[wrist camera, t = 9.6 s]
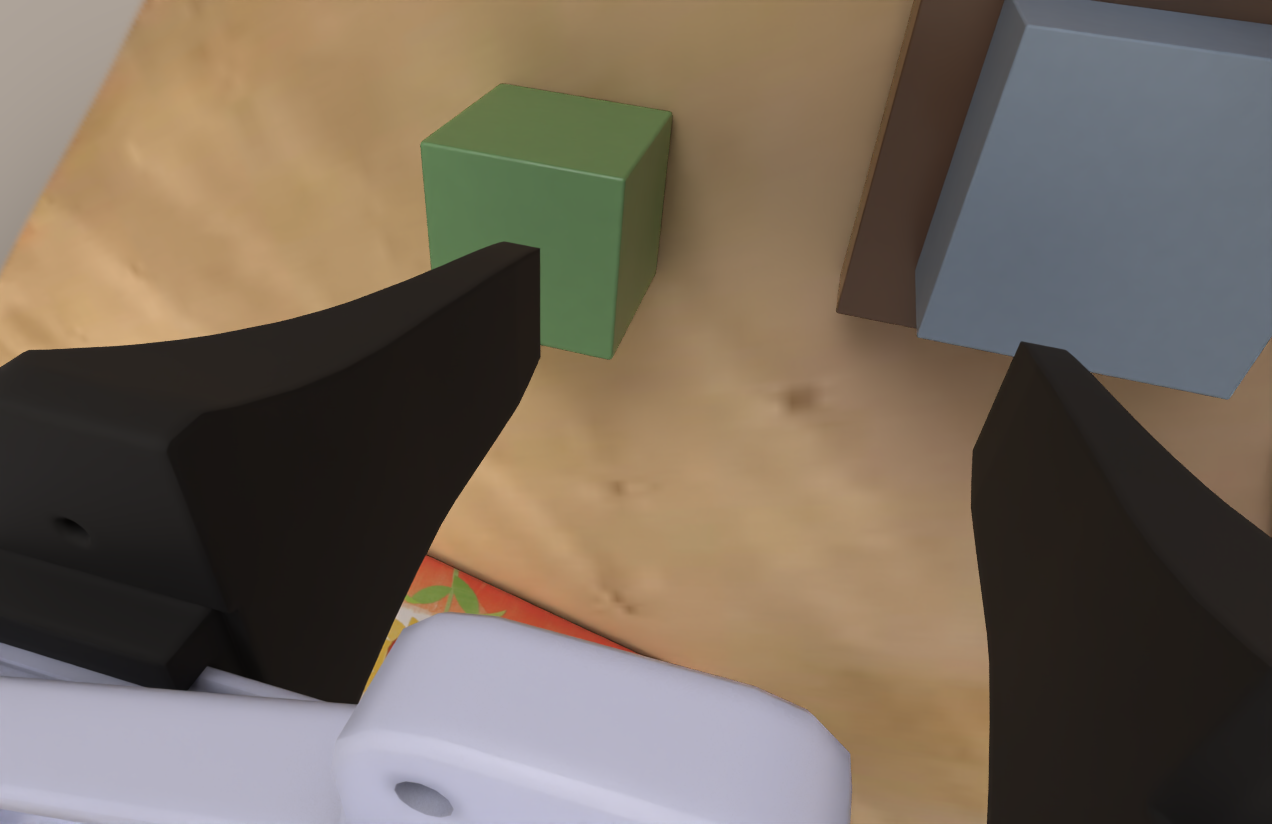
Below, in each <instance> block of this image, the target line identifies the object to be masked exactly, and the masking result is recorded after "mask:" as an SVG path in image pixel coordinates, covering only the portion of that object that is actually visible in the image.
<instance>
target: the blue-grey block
mask: <svg viewBox="0 0 1272 824" xmlns="http://www.w3.org/2000/svg"><path fill="white" fill-rule="evenodd" d="M915 288H916V326H917V337H918V338H923V339H928V340H933V341H938V342H943V343H948V344H953V345H958V346H963V347H968V348H973V349H978V350H983V351H988V352H993V353H998V354H1003V355H1008V356H1013V357H1014V355H1015V353H1016V351H1017V349H1018V346H1019V344H1020V342H1021V341H1023V342H1028V343H1033V344H1039V345H1044V346H1049V347H1054V348H1059V349H1065V350H1067V351H1068V352H1069V353H1070V354H1072V355H1073V356H1074V357H1075V358H1076V359H1077V360H1078V361H1079V362H1080V363H1081V364H1082V365H1083V366H1084V367H1085V368H1086V369H1087V370H1088V371H1089V372H1092V373H1097V374H1102V375H1107V376H1112V377H1117V378H1122V379H1127V380H1132V381H1137V382H1142V383H1147V384H1152V385H1157V386H1162V387H1167V388H1172V389H1177V390H1182V391H1187V392H1192V393H1197V394H1202V395H1207V396H1212V397H1217V398H1222V399H1230V397H1231V396H1232V394H1233V393H1234V391H1235V390H1236V388H1237V387H1238V385H1239V384H1240V382H1241V381H1242V380H1243V378H1244V377H1245V375H1246V374H1247V372H1248V371H1249V369H1250V368H1251V366H1252V365H1253V363H1254V362H1255V360H1256V359H1257V357H1258V356H1259V355H1260V353H1261V352H1262V350H1263V349H1264V347H1265V346H1266V344H1267V343H1268V341H1269V340H1270V338H1271V337H1272V25H1268V24H1261V23H1254V22H1246V21H1239V20H1231V19H1224V18H1217V17H1209V16H1202V15H1195V14H1187V13H1180V12H1172V11H1165V10H1158V9H1150V8H1143V7H1135V6H1128V5H1121V4H1113V3H1106V2H1098V1H1091V0H1004V3H1003V6H1002V9H1001V13H1000V16H999V19H998V22H997V25H996V28H995V31H994V34H993V37H992V40H991V43H990V46H989V49H988V52H987V55H986V58H985V61H984V64H983V67H982V70H981V73H980V76H979V79H978V82H977V85H976V88H975V91H974V94H973V97H972V100H971V103H970V106H969V109H968V112H967V115H966V118H965V121H964V124H963V127H962V130H961V133H960V136H959V139H958V142H957V145H956V148H955V151H954V154H953V158H952V161H951V164H950V167H949V170H948V173H947V176H946V179H945V182H944V185H943V188H942V191H941V194H940V197H939V200H938V203H937V206H936V209H935V212H934V215H933V218H932V221H931V224H930V227H929V230H928V233H927V236H926V239H925V242H924V245H923V248H922V251H921V254H920V257H919V260H918V263H917V266H916V269H915Z"/></svg>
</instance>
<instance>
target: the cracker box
mask: <svg viewBox="0 0 1272 824" xmlns="http://www.w3.org/2000/svg"><path fill="white" fill-rule="evenodd" d="M444 612H457V613H468V614H478V615H489V616H499V617H502V618H506V619H510V620H514V621H517V622H521V623H525V624H528V625H532V626H536V627H539V628H543V629H547V630H550V631H554V632H558V633H561V634H565V635H569V636H572V637H576V638H580V639H583V640H587V641H591V642H595V643H598V644H602V645H606V646H609V647H613V648H617V649H620V650H624V651H628V652H631V653H635V654H638V653H636V652H634V651H631V650H629V649H627V648H625V647H623V646H621V645H619V644H616V643H614V642H612V641H610V640H608V639H606V638H603V637H601V636H599V635H597V634H595V633H592V632H590V631H588V630H586V629H584V628H582V627H580V626H577V625H575V624H573V623H571V622H569V621H567V620H565V619H563V618H560V617H558V616H556V615H553V614H551V613H550V612H548V611H545V610H543V609H541V608H539V607H537V606H534V605H532V604H530V603H528V602H526V601H524V600H522V599H520V598H517V597H515V596H513V595H511V594H509V593H507V592H504V591H502V590H500V589H498V588H496V587H494V586H491V585H489V584H487V583H485V582H483V581H481V580H479V579H477V578H474V577H472V576H470V575H468V574H466V573H464V572H462V571H459V570H457V569H455V568H453V567H451V566H449V565H447V564H445V563H442V562H440V561H438V560H436V559H434V558H432V557H430V556H427V555H426V556H425V558H424V560H423V562H422V564H421V566H420V568H419V570H418V571H417V574H416V576H415V578H414V580H413V582H412V584H411V586H410V588H409V591H408V593H407V595H406V597H405V599H404V601H403V603H402V605H401V607H400V610H399V612H398V614H397V616H396V618H395V620H394V622H393V624H392V627H391V629H390V631H389V634H388V636H387V638H386V640H385V643H384V645H383V647H382V650H381V652H380V654H379V656H378V659H377V661H376V663H375V666H374V668H373V670H372V672H371V675H370V677H369V679H368V681H367V684H366V686H365V689H364V691H363V694H362V696H361V698H362V697H363V695H364V693H365V692H366V690H367V688H368V687H369V685H370V683H371V682H372V680H373V678H374V677H375V675H376V673H377V672H378V670H379V668H380V667H381V665H382V663H383V662H384V660H385V658H386V657H387V655H388V653H389V652H390V650H391V648H392V647H393V645H394V643H395V642H396V640H397V638H398V637H399V635H400V633H401V632H402V630H403V628H406V627H408V626H410V625H413V624H415V623H417V622H419V621H422V620H424V619H426V618H428V617H431V616H433V615H435V614H438V613H444ZM639 655H640V654H639ZM360 700H361V699H360Z"/></svg>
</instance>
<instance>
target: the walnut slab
mask: <svg viewBox="0 0 1272 824" xmlns="http://www.w3.org/2000/svg"><path fill="white" fill-rule="evenodd" d="M1091 1H1098V2H1106V3H1113V4H1121V5H1128V6H1135V7H1143V8H1150V9H1158V10H1165V11H1172V12H1180V13H1187V14H1195V15H1202V16H1209V17H1217V18H1224V19H1231V20H1239V21H1246V22H1254V23H1261V24H1268V25H1272V0H1091ZM1003 3H1004V0H914V3H913V7H912V10H911V14H910V18H909V21H908V25H907V29H906V33H905V36H904V40H903V44H902V48H901V51H900V55H899V59H898V63H897V66H896V70H895V74H894V78H893V81H892V85H891V89H890V92H889V96H888V100H887V104H886V107H885V111H884V115H883V119H882V122H881V126H880V130H879V134H878V137H877V141H876V145H875V149H874V152H873V156H872V160H871V163H870V167H869V171H868V175H867V178H866V182H865V186H864V190H863V193H862V197H861V201H860V205H859V208H858V212H857V216H856V220H855V223H854V227H853V231H852V234H851V238H850V242H849V246H848V249H847V253H846V257H845V261H844V264H843V268H842V272H841V276H840V284H839V291H838V299H837V307H836V312H837V313H840V314H845V315H850V316H855V317H860V318H865V319H870V320H875V321H880V322H885V323H891V324H896V325H901V326H906V327H911V328H916V329H917V326H916V288H915V269H916V266H917V263H918V260H919V257H920V254H921V251H922V248H923V245H924V242H925V239H926V236H927V233H928V230H929V227H930V224H931V221H932V218H933V215H934V212H935V209H936V206H937V203H938V200H939V197H940V194H941V191H942V188H943V185H944V182H945V179H946V176H947V173H948V170H949V167H950V164H951V161H952V158H953V154H954V151H955V148H956V145H957V142H958V139H959V136H960V133H961V130H962V127H963V124H964V121H965V118H966V115H967V112H968V109H969V106H970V103H971V100H972V97H973V94H974V91H975V88H976V85H977V82H978V79H979V76H980V73H981V70H982V67H983V64H984V61H985V58H986V55H987V52H988V49H989V46H990V43H991V40H992V37H993V34H994V31H995V28H996V25H997V22H998V19H999V16H1000V13H1001V9H1002V6H1003Z"/></svg>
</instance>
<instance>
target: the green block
mask: <svg viewBox="0 0 1272 824" xmlns="http://www.w3.org/2000/svg"><path fill="white" fill-rule="evenodd" d="M672 116H673V115H672V113H671V112H669V111H664V110H658V109H652V108H646V107H640V106H634V105H628V104H622V103H616V102H610V101H604V100H598V99H592V98H586V97H580V96H574V95H568V94H562V93H556V92H550V91H544V90H538V89H532V88H526V87H520V86H514V85H508V84H499V85H498V86H497V87H495V88H494V89H493V90H491V91H490V92H488V93H487V94H486V95H484V96H483V97H482V98H480V99H479V100H478V101H476V102H475V103H473V104H472V105H471V106H469V107H468V108H467V109H465V110H464V111H463V112H461V113H460V114H458V115H457V116H456V117H454V118H453V119H452V120H450V121H449V122H448V123H446V124H445V125H444V126H442V127H441V128H439V129H438V130H437V131H435V132H434V133H433V134H431V135H430V136H429V137H427V138H426V139H424V140H423V141H422V142H421V145H420V147H421V158H422V170H423V181H424V192H425V203H426V215H427V226H428V237H429V249H430V260H431V270H432V269H435V268H437V267H439V266H442V265H444V264H446V263H449V262H451V261H453V260H456V259H458V258H460V257H463V256H465V255H467V254H470V253H472V252H475V251H477V250H479V249H482V248H485V247H487V246H490V245H493V244H496V243H499V242H503V241H505V242H511V243H516V244H521V245H526V246H531V247H536V248H540V345H543V346H548V347H552V348H557V349H561V350H566V351H571V352H575V353H580V354H584V355H589V356H594V357H598V358H603V359H608V360H611V359H612V358H613V356H614V354H615V352H616V350H617V348H618V346H619V344H620V342H621V340H622V338H623V336H624V334H625V332H626V330H627V328H628V327H629V325H630V323H631V321H632V319H633V317H634V315H635V313H636V311H637V309H638V307H639V305H640V303H641V301H642V299H643V297H644V295H645V293H646V291H647V289H648V287H649V285H650V283H651V281H652V279H653V277H654V276H655V274H656V267H657V257H658V248H659V239H660V229H661V220H662V210H663V201H664V192H665V182H666V173H667V163H668V154H669V145H670V135H671V126H672Z"/></svg>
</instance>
